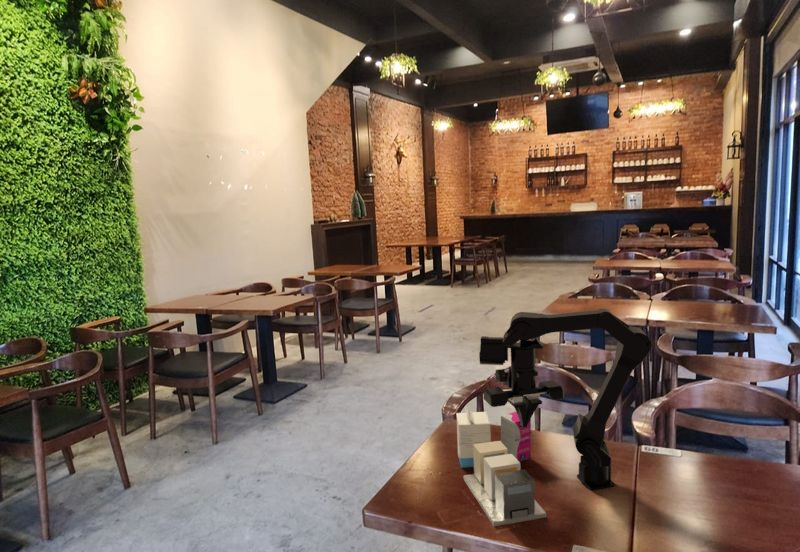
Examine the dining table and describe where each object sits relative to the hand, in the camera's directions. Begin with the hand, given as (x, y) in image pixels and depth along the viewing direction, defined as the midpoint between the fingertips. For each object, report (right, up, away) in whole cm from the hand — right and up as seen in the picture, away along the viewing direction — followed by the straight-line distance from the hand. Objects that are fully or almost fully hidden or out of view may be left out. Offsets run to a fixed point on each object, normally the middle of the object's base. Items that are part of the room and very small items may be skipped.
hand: (524, 426), depth 128 cm
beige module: (-8, -12, 0) cm, 15 cm away
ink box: (-10, -12, +12) cm, 20 cm away
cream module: (-7, -13, -7) cm, 17 cm away
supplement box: (+1, -12, +12) cm, 17 cm away
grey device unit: (-7, -14, -7) cm, 17 cm away
